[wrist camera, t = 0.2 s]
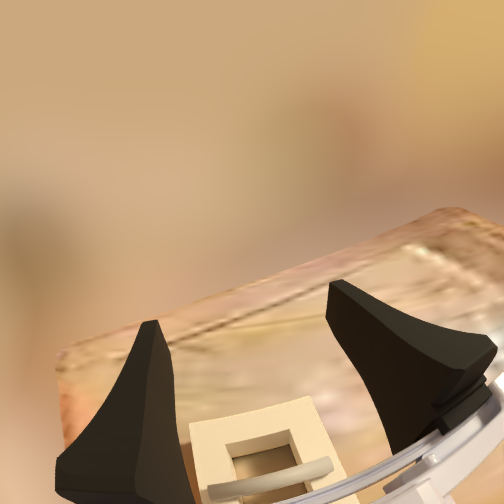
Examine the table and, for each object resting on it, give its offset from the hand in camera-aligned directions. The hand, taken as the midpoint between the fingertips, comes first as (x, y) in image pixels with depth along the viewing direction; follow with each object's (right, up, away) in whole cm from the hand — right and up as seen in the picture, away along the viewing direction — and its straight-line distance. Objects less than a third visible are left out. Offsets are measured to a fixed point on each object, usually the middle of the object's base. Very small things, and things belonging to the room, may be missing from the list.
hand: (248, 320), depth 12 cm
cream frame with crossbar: (+2, -20, +8) cm, 21 cm away
